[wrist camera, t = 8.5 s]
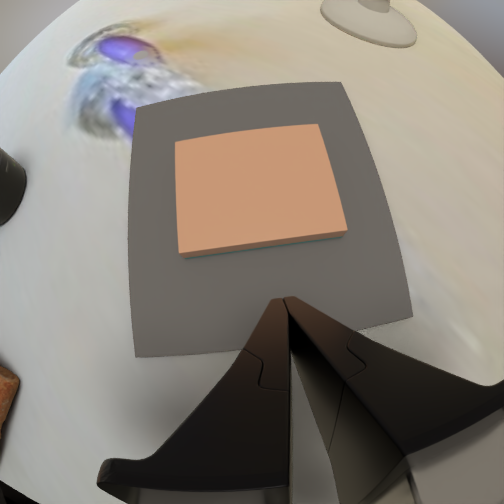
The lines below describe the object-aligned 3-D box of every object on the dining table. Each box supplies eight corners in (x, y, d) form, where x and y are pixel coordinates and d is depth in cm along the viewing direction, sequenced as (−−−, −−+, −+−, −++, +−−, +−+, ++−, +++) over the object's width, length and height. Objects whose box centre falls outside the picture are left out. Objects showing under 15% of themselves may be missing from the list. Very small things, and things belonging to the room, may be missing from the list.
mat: (409, 316, 17) (413, 316, 17) (138, 356, 17) (135, 357, 17) (339, 85, 23) (340, 81, 22) (138, 111, 23) (136, 107, 22)
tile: (347, 230, 17) (317, 123, 19) (178, 253, 17) (174, 141, 19) (341, 237, 18) (314, 136, 20) (185, 259, 18) (180, 153, 20)
